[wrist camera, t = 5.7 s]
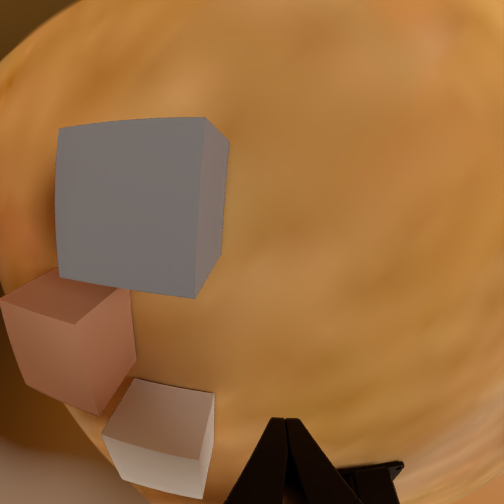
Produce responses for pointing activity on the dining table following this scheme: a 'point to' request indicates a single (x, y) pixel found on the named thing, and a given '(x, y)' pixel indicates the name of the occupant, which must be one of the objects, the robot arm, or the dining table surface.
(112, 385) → the terracotta cube
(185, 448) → the white cube
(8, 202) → the dining table surface
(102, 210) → the grey cube
